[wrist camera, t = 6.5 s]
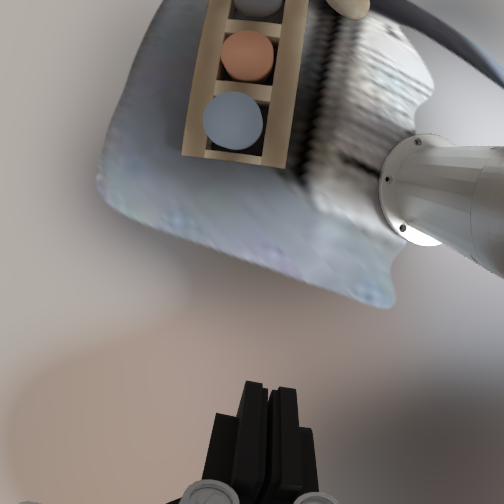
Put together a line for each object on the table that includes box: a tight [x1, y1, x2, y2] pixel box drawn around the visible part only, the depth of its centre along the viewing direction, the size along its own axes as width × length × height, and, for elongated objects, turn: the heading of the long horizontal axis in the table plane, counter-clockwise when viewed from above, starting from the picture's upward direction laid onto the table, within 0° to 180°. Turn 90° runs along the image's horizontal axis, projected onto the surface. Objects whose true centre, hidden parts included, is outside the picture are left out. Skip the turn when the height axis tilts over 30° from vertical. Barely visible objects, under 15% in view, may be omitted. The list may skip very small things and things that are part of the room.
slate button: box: [203, 91, 263, 150], centre depth 26 cm, size 5×5×4 cm
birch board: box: [181, 0, 309, 169], centre depth 28 cm, size 10×21×3 cm, turn 172°
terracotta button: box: [221, 30, 273, 84], centre depth 27 cm, size 5×5×4 cm
